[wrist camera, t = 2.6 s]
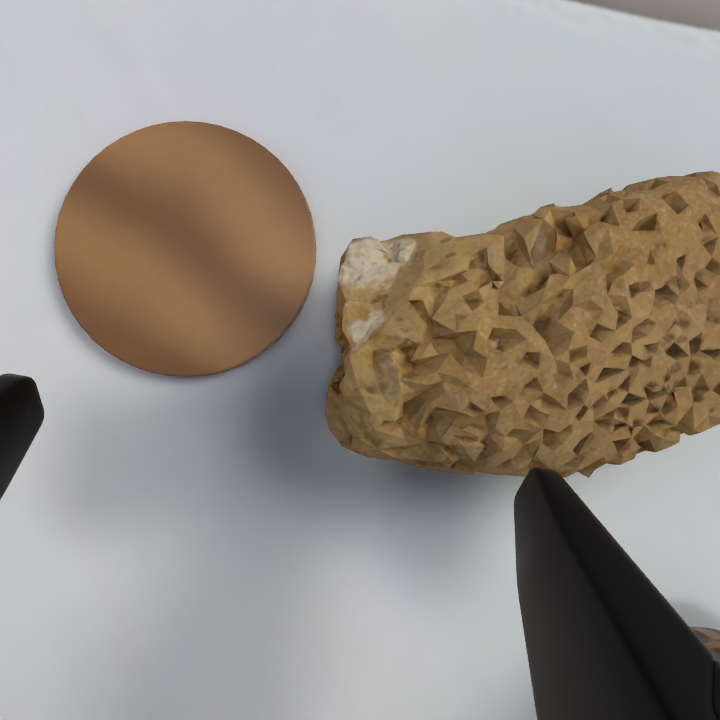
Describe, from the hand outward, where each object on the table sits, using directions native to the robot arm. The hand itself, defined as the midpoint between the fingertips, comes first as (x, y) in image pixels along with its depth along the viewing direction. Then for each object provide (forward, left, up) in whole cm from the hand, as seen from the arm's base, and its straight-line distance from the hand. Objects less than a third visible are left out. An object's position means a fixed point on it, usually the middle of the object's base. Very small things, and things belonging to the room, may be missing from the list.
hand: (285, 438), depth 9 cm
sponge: (+8, -8, -15) cm, 18 cm away
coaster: (+3, +9, -14) cm, 17 cm away
